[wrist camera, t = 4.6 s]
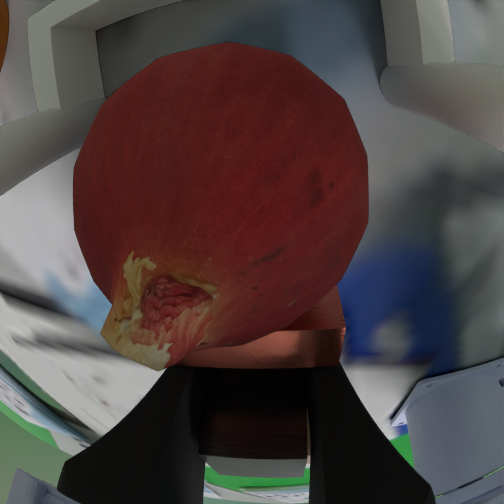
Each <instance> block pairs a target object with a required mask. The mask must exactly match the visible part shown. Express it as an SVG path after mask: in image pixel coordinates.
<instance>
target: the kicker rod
mask: <svg viewBox="0 0 504 504" xmlns="http://www.w3.org/2000/svg"><path fill="white" fill-rule="evenodd" d="M345 329H346V326H345V321H344V316H343V311H342V307H341V302H340V297H339V292H338V288H337V285H336V286H335V287H334V288H333V289H332V290H331V291H330V292H329V293H327V294H326V295H325V296H324V297H323V298H321V299H320V300H319V301H318V302H317V303H315V304H314V305H313V306H312V307H311V308H309V309H308V310H307V311H306V312H304V313H303V314H302V315H301V316H299V317H298V318H297V319H296V320H294V321H293V322H292V323H291V324H289V325H288V326H287V327H285V328H283V329H281V330H278V331H276V332H274V333H271V334H269V335H267V336H264V337H262V338H259V339H257V340H255V341H252V342H250V343H247V344H245V345H240V346H233V347H220V348H211V349H206V350H201V351H196V352H190V353H188V354H187V355H186V356H185V357H183V358H182V359H181V360H180V361H179V362H178V363H176V364H174V365H181V366H195V367H213V368H214V370H213V375H212V380H211V385H210V391H209V396H208V401H207V406H206V412H205V417H204V422H203V428H202V433H201V438H200V444H199V449H198V455H199V456H200V457H201V458H202V459H203V460H204V461H205V462H206V463H207V464H208V465H209V466H211V467H212V468H213V469H214V470H215V471H216V472H217V473H218V474H220V475H231V476H244V477H268V478H290V477H303V474H304V470H305V466H306V463H307V395H306V369H305V367H323V366H337V365H338V364H339V359H340V355H341V350H342V345H343V340H344V335H345Z"/></svg>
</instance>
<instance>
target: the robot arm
mask: <svg viewBox="0 0 504 504" xmlns="http://www.w3.org/2000/svg"><path fill="white" fill-rule="evenodd" d="M305 369H306V395H307V412H308V421H309V430H310V488H309V504H504V468H502V469H500V470H498V471H497V472H495V473H493V474H491V475H489V476H487V477H485V478H483V477H484V476H486V475H488V474H490V473H492V472H493V471H495V470H497V469H499V468H501V467H503V466H504V358H501V359H498V360H495V361H492V362H489V363H485V364H482V365H479V366H475V367H472V368H468V369H465V370H461V371H457V372H453V373H449V374H445V375H441V376H436V377H432V378H427V379H423V380H421V381H419V382H418V383H417V385H416V386H415V388H414V389H413V391H412V392H411V394H410V395H409V397H408V398H407V400H406V401H405V403H404V404H403V405H402V407H401V408H400V410H399V411H398V412H397V414H396V415H395V417H394V418H393V419H392V421H391V422H390V425H391V426H398V425H403V424H407V426H408V431H409V437H410V443H411V449H412V455H413V462H414V468H413V467H412V466H411V465H410V464H409V463H408V462H407V461H406V460H405V459H404V458H403V457H402V456H401V455H400V453H399V452H398V451H397V450H396V448H395V447H394V446H393V445H392V444H391V442H390V441H389V440H388V439H387V438H386V436H385V435H384V434H383V433H382V431H381V430H380V428H379V427H378V426H377V424H376V423H375V422H374V420H373V419H372V417H371V416H370V414H369V413H368V411H367V410H366V408H365V407H364V405H363V403H362V402H361V400H360V399H359V397H358V395H357V393H356V392H355V390H354V388H353V387H352V385H351V383H350V381H349V379H348V377H347V375H346V373H345V371H344V369H343V367H342V365H341V364H340V361H339V364H338V365H337V366H323V367H305ZM213 370H214V368H213V367H195V366H181V365H172V366H169V367H167V369H166V370H165V371H164V373H163V374H162V375H161V377H160V378H159V379H158V380H157V382H156V383H155V384H154V385H153V387H152V388H151V389H150V391H149V392H148V393H147V394H146V395H145V396H144V398H143V399H142V400H141V401H140V402H139V403H138V404H137V405H136V406H135V407H134V408H133V409H132V411H131V412H130V413H129V414H127V415H126V416H125V417H124V418H123V419H122V420H121V421H120V422H119V423H118V424H117V425H116V426H115V427H114V428H112V429H111V430H110V431H109V432H108V433H106V434H105V435H104V436H102V437H101V438H100V439H99V440H97V441H96V442H95V443H93V444H92V445H91V446H89V447H88V448H86V449H85V450H83V451H81V452H80V453H78V454H77V455H75V456H73V457H72V458H70V459H68V460H67V461H66V462H65V463H64V466H63V468H62V472H61V475H60V478H59V482H58V485H57V488H56V487H55V486H53V485H51V484H49V483H47V482H45V481H42V480H40V479H38V478H36V477H34V476H32V475H30V474H29V473H27V472H25V471H23V470H22V469H20V468H17V470H16V472H15V476H14V479H13V482H12V485H11V489H10V492H9V496H8V499H7V503H6V504H203V492H204V474H205V461H204V460H203V459H202V458H201V457H200V456H199V455H198V449H199V444H200V438H201V433H202V428H203V422H204V417H205V412H206V406H207V401H208V396H209V391H210V385H211V380H212V375H213ZM442 494H443V495H442ZM439 495H442V496H440V497H438V498H435V497H436V496H439Z"/></svg>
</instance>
